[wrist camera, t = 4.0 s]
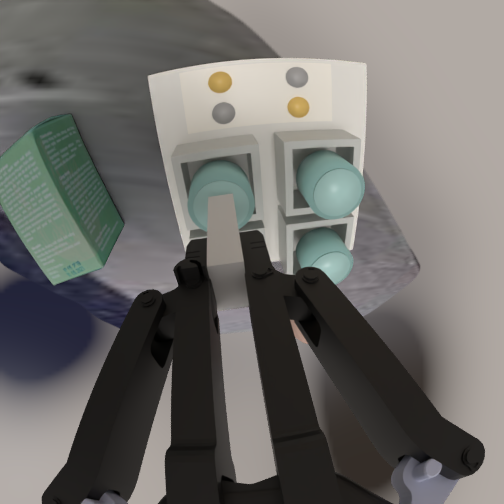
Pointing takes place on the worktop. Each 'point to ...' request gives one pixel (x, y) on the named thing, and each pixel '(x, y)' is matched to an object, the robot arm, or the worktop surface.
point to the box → (58, 200)
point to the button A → (220, 191)
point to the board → (262, 137)
